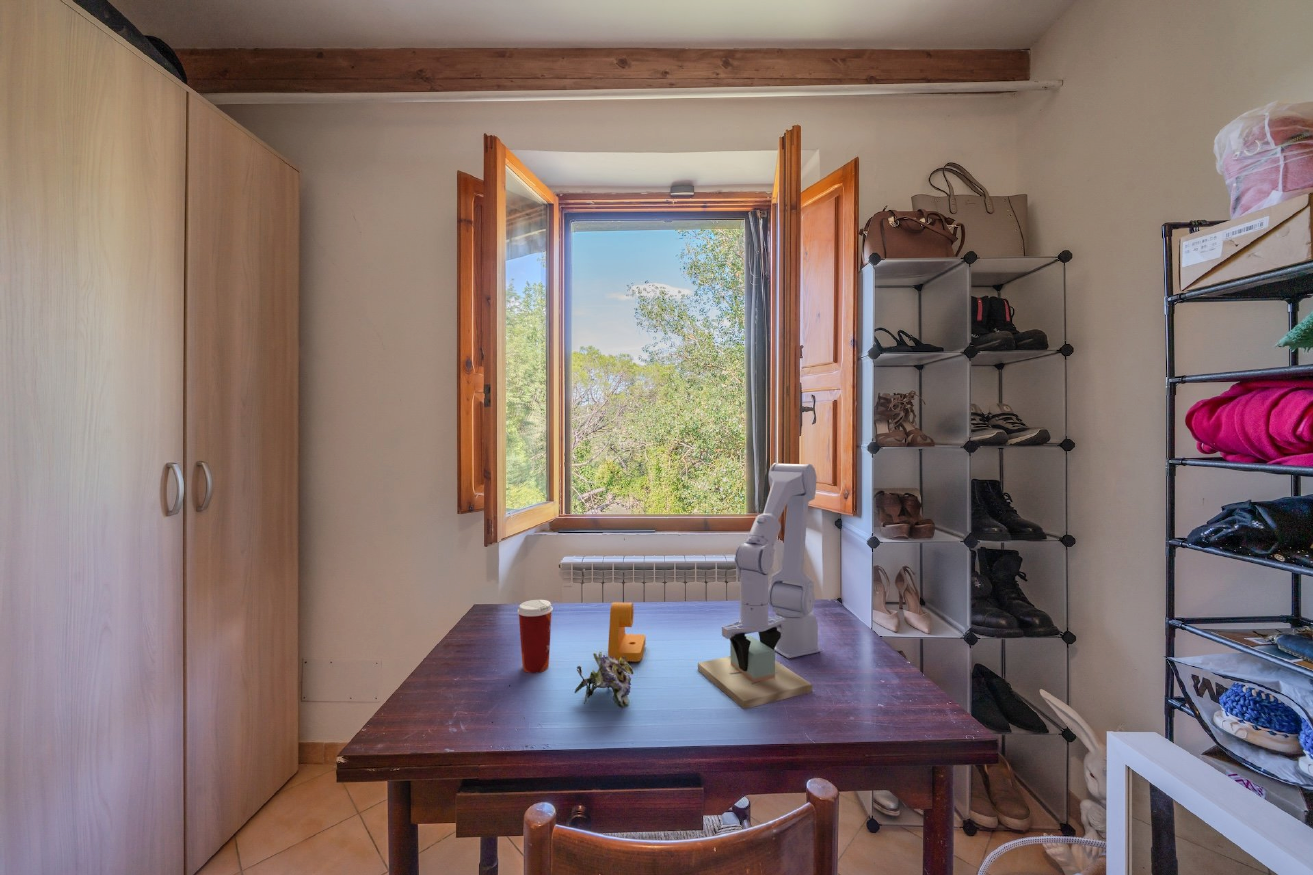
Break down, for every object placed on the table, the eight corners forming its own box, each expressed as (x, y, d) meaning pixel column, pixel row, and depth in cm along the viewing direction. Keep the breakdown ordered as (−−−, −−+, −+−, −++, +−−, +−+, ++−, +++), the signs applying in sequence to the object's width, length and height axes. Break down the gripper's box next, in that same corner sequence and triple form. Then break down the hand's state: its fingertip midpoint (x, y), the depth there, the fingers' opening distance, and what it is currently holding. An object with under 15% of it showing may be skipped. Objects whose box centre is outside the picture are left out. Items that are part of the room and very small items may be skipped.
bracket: (640, 665, 117) (639, 611, 117) (608, 663, 118) (607, 610, 118) (646, 645, 128) (645, 596, 128) (616, 644, 129) (616, 595, 129)
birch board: (759, 656, 121) (759, 650, 121) (812, 691, 105) (812, 684, 105) (697, 669, 115) (697, 662, 115) (743, 709, 98) (743, 701, 98)
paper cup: (560, 666, 117) (559, 603, 116) (530, 678, 111) (530, 612, 111) (539, 656, 122) (539, 596, 122) (510, 667, 116) (510, 604, 116)
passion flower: (624, 732, 100) (635, 699, 93) (567, 725, 99) (574, 692, 92) (627, 677, 109) (638, 643, 103) (575, 670, 108) (583, 635, 102)
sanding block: (750, 660, 116) (749, 635, 116) (775, 677, 107) (774, 650, 107) (730, 664, 114) (730, 638, 114) (754, 682, 105) (754, 654, 105)
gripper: (771, 591, 116) (771, 653, 116) (714, 600, 110) (714, 665, 110) (791, 601, 110) (792, 666, 110) (732, 610, 104) (732, 679, 104)
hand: (754, 666), depth 110 cm, fingers closed on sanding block, 5 cm apart
